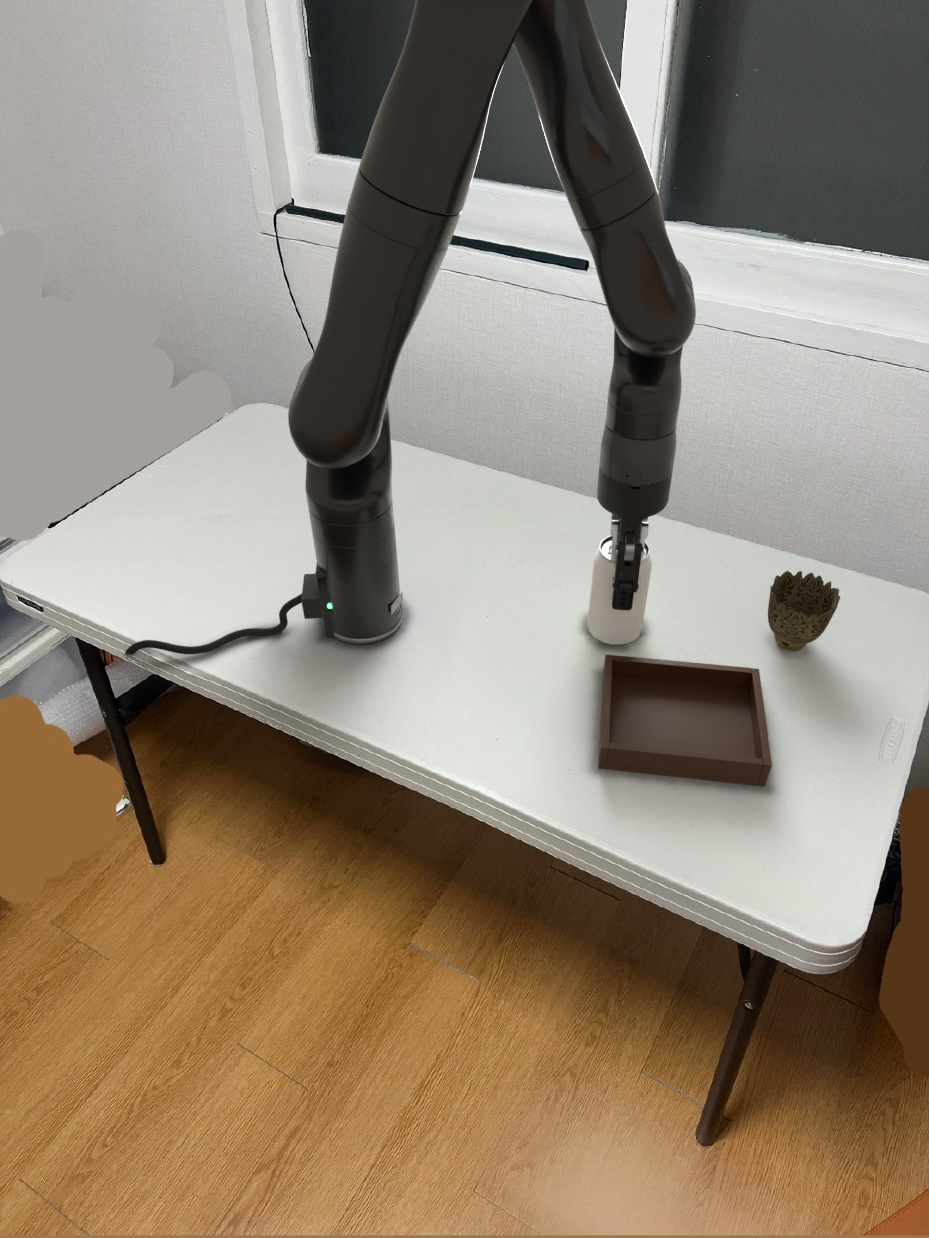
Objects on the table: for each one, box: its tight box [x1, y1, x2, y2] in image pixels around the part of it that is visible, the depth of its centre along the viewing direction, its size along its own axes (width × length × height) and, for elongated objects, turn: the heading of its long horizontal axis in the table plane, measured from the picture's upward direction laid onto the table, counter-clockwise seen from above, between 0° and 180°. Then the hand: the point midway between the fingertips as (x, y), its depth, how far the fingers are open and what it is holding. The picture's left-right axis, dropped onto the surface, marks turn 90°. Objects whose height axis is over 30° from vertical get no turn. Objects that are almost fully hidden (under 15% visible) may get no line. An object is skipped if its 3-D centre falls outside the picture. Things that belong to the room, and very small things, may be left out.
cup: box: [767, 570, 841, 652], centre depth 102 cm, size 8×7×8 cm
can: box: [587, 535, 653, 646], centre depth 103 cm, size 6×6×12 cm
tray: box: [597, 653, 773, 787], centre depth 94 cm, size 17×14×3 cm
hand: (622, 583), depth 102 cm, fingers open, 8 cm apart
